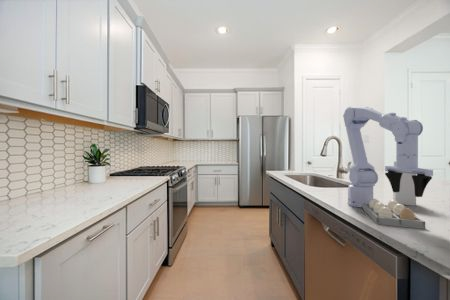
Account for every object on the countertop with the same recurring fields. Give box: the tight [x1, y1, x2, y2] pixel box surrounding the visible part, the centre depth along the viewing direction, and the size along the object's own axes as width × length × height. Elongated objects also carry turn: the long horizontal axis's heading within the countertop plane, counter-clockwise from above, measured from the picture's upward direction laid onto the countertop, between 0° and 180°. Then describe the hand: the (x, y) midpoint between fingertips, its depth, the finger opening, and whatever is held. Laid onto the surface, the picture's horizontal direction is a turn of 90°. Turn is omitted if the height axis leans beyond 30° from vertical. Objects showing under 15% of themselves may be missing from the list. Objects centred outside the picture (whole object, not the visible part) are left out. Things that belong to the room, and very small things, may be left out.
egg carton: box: [362, 204, 426, 229], centre depth 79 cm, size 13×19×2 cm
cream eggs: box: [369, 198, 406, 218], centre depth 79 cm, size 10×16×5 cm, turn 159°
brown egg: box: [400, 207, 416, 220], centre depth 72 cm, size 4×4×5 cm
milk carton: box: [392, 161, 417, 207], centre depth 98 cm, size 7×7×19 cm
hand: (406, 194), depth 75 cm, fingers open, 7 cm apart
